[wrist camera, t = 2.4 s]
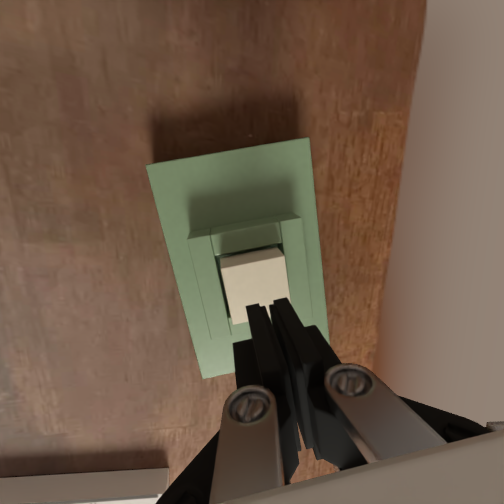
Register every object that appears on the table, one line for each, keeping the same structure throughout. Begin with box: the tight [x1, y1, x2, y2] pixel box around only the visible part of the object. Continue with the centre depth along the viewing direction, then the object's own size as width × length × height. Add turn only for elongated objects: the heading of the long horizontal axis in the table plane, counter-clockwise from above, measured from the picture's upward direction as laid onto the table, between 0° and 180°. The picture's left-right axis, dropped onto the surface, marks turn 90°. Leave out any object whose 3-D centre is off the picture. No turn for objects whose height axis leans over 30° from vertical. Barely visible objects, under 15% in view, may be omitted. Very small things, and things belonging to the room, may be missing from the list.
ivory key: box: [220, 247, 291, 325], centre depth 15 cm, size 3×3×2 cm
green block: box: [146, 137, 330, 379], centre depth 18 cm, size 14×9×4 cm, turn 10°
